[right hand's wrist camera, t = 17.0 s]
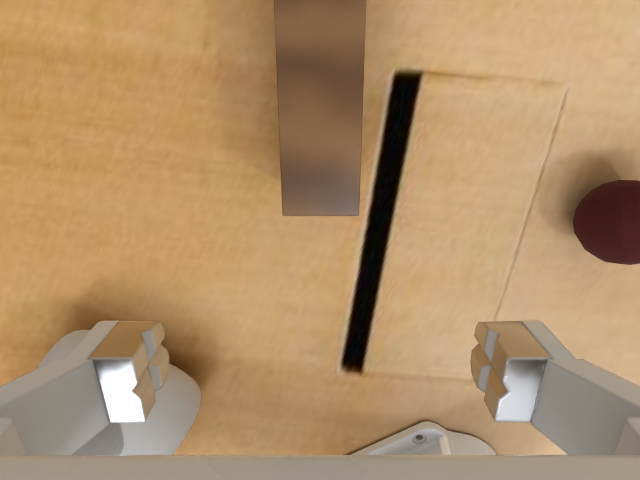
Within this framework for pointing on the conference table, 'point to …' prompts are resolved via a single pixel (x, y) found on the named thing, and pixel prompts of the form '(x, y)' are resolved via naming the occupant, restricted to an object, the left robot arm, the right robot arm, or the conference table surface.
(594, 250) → the plum
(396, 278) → the conference table surface
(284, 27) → the bar
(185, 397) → the white rounded shell
